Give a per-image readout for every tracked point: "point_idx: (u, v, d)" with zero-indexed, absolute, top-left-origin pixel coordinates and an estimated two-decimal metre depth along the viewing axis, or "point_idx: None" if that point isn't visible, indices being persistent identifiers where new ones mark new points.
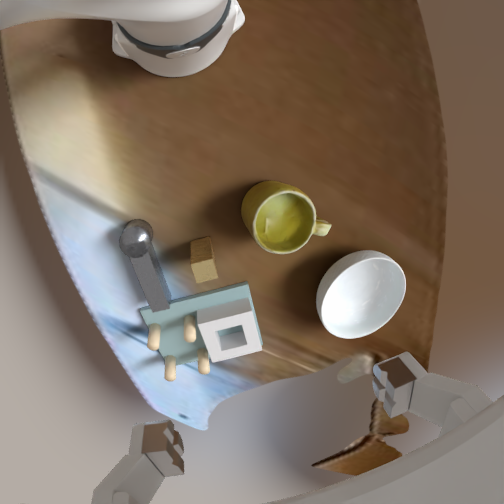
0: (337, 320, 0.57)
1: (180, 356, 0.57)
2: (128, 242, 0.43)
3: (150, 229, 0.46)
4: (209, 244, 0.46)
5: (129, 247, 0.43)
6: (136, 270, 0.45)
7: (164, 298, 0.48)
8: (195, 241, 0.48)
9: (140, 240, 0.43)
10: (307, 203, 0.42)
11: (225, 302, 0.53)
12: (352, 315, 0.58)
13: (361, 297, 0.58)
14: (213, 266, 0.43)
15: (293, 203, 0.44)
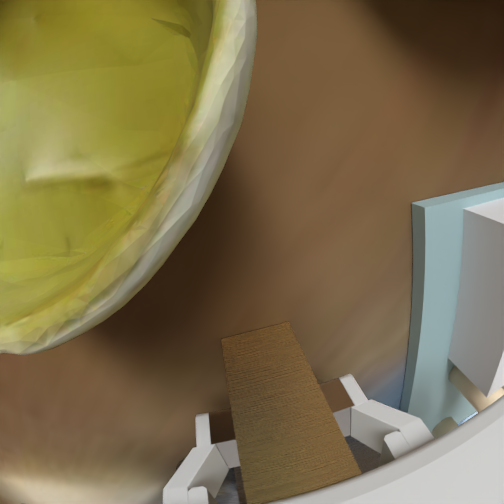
0: None
1: None
2: None
3: None
4: None
5: None
6: None
7: None
8: None
9: None
10: None
11: (457, 284, 0.14)
12: None
13: None
14: None
15: None
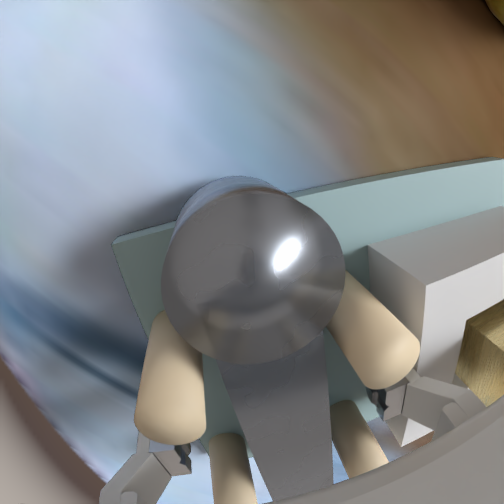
0: None
1: None
2: (220, 283, 0.07)
3: None
4: None
5: (222, 312, 0.08)
6: (244, 412, 0.09)
7: (328, 471, 0.11)
8: None
9: (293, 271, 0.08)
10: None
11: (456, 216, 0.13)
12: None
13: None
14: None
15: None
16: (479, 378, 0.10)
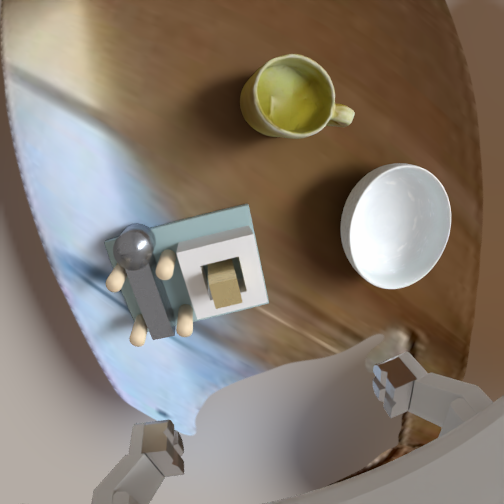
0: (368, 267, 0.42)
1: None
2: (124, 250, 0.34)
3: (152, 236, 0.37)
4: (230, 261, 0.38)
5: (125, 256, 0.35)
6: (133, 286, 0.36)
7: (167, 322, 0.38)
8: None
9: (138, 247, 0.35)
10: (322, 77, 0.30)
11: (217, 231, 0.40)
12: (386, 264, 0.44)
13: (395, 240, 0.44)
14: (237, 287, 0.34)
15: (305, 83, 0.31)
16: None
